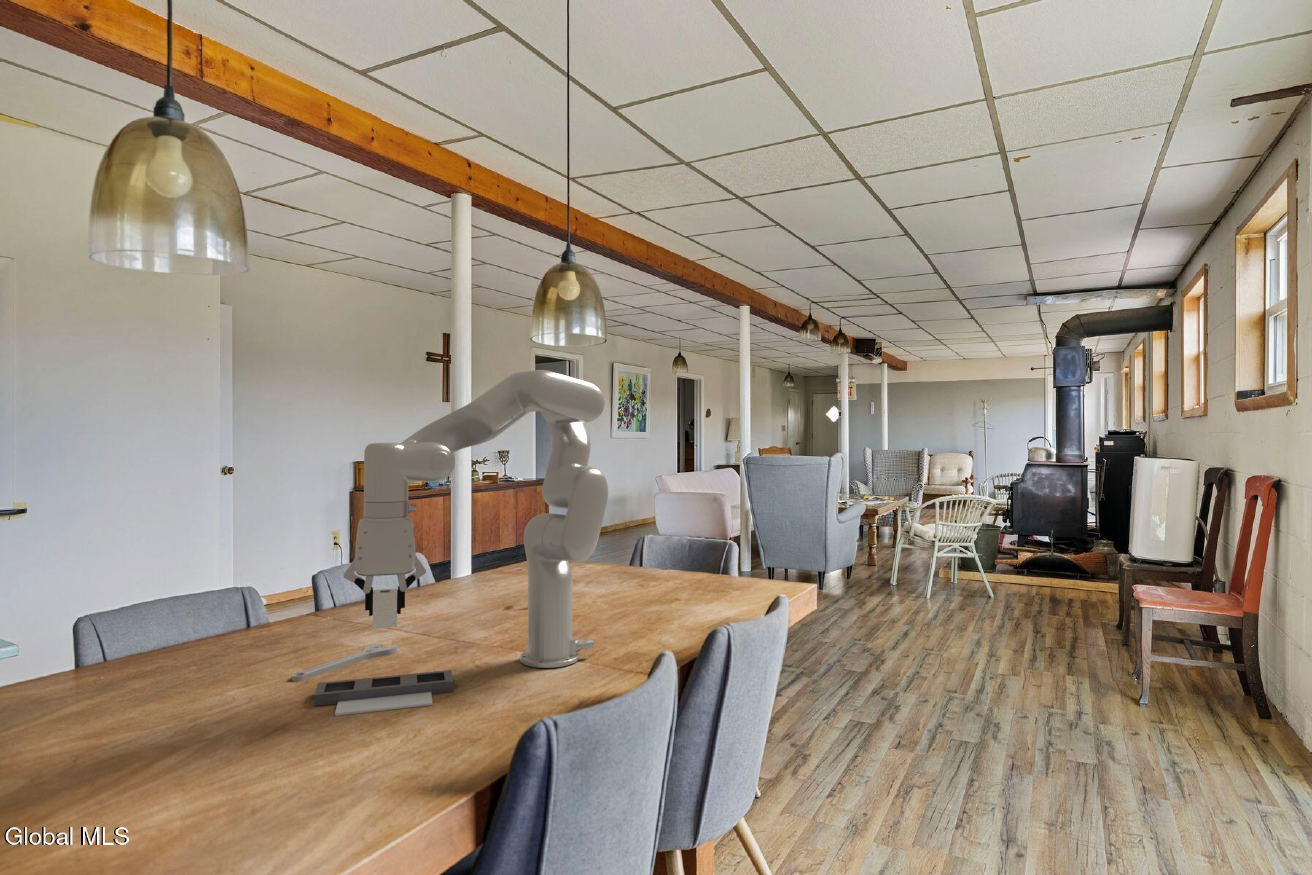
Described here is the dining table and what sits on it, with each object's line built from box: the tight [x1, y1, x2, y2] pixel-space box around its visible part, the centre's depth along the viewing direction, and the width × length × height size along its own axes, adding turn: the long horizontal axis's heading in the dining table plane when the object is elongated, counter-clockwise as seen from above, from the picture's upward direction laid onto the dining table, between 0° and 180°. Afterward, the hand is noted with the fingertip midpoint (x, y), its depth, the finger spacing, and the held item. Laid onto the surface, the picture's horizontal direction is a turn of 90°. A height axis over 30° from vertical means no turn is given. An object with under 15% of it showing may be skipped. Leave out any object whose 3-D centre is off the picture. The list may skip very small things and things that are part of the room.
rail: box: [313, 669, 454, 707], centre depth 136 cm, size 24×7×2 cm, turn 109°
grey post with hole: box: [372, 588, 398, 629], centre depth 130 cm, size 4×4×6 cm
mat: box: [334, 692, 433, 717], centre depth 129 cm, size 16×6×1 cm, turn 109°
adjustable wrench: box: [290, 643, 398, 682], centre depth 154 cm, size 25×6×2 cm, turn 148°
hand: (385, 612), depth 130 cm, fingers closed on grey post with hole, 4 cm apart
